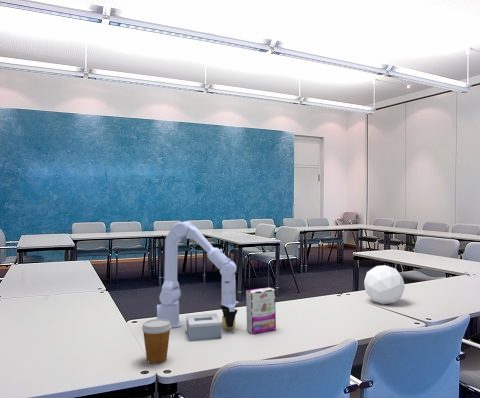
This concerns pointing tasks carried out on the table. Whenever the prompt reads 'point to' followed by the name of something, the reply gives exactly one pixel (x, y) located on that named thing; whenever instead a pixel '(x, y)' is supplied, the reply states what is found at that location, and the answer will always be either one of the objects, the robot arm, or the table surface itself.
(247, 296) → the candy bar box
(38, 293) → the table surface
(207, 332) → the coin box
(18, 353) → the table surface
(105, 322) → the table surface
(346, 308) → the table surface
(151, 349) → the disposable coffee cup
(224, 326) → the block
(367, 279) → the polyhedron
